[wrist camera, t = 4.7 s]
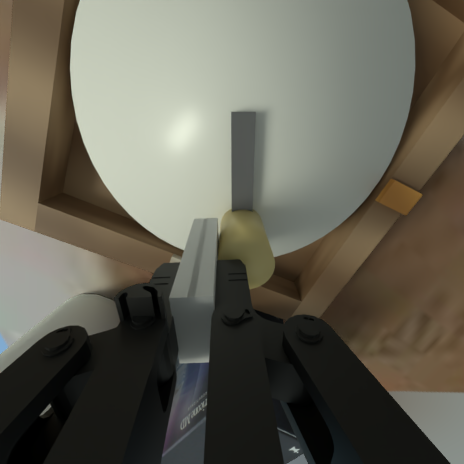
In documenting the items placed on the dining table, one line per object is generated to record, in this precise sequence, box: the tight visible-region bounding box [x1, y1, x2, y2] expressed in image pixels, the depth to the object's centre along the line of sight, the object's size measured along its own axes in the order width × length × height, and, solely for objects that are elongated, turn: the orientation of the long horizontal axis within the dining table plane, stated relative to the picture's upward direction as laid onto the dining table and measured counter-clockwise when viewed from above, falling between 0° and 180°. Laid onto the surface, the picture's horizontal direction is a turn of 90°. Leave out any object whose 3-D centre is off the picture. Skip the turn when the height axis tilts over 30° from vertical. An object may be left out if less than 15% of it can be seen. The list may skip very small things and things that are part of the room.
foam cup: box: [0, 294, 120, 415], centre depth 17 cm, size 10×9×13 cm
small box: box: [161, 309, 303, 464], centre depth 18 cm, size 11×6×10 cm, turn 144°
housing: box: [0, 0, 464, 320], centre depth 14 cm, size 22×22×4 cm
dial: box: [70, 0, 415, 289], centre depth 11 cm, size 17×17×6 cm
